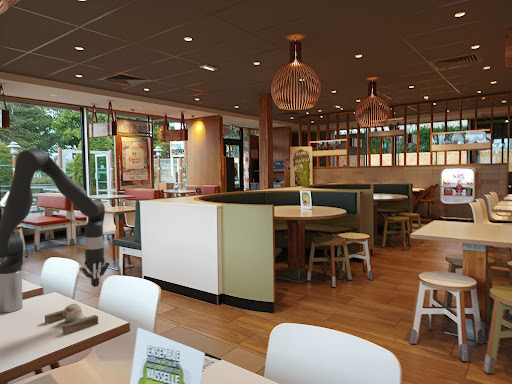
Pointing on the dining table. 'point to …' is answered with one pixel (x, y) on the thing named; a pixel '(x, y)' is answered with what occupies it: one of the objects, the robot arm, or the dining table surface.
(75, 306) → the mug
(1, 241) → the robot arm
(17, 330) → the dining table surface
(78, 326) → the wooden guide rails
